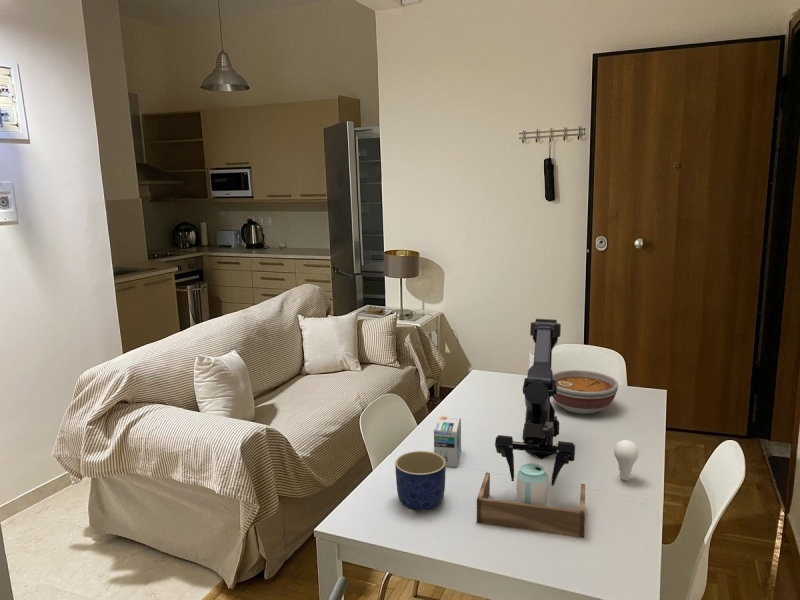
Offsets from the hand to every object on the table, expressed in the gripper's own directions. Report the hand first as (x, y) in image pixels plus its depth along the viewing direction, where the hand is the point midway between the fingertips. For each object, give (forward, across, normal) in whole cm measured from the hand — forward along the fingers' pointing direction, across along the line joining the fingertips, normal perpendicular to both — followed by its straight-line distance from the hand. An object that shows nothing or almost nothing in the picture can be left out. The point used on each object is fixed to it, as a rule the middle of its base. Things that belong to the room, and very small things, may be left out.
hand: (532, 482), depth 145 cm
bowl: (-45, +11, +56) cm, 73 cm away
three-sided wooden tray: (+6, 0, +6) cm, 8 cm away
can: (+6, 0, +6) cm, 8 cm away
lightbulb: (-10, +22, +22) cm, 33 cm away
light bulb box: (-11, -26, +23) cm, 36 cm away
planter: (+7, -27, +5) cm, 28 cm away
